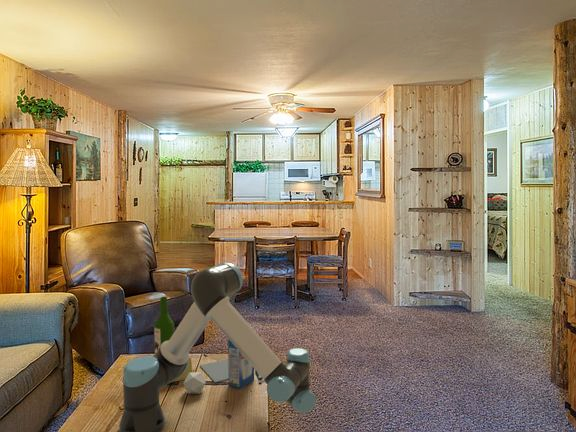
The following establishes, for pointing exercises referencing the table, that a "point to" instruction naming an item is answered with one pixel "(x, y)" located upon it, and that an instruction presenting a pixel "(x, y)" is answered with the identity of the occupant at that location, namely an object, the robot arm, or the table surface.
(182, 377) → the cheese
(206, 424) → the table surface
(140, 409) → the robot arm
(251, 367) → the milk carton
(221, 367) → the slate mat
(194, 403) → the table surface
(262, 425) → the table surface
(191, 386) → the die
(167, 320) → the wine bottle
